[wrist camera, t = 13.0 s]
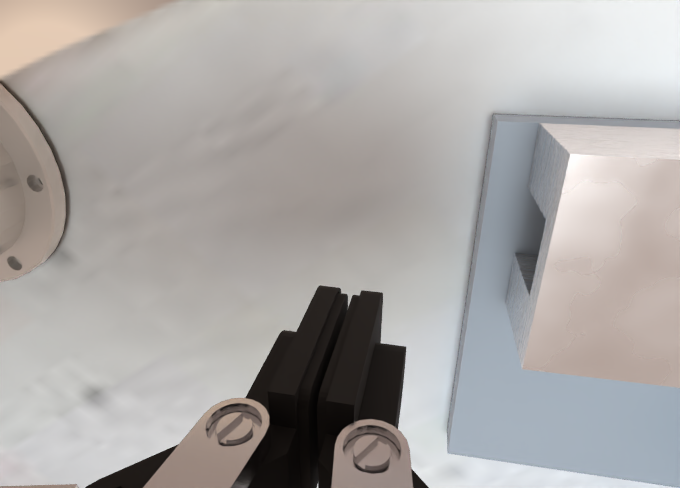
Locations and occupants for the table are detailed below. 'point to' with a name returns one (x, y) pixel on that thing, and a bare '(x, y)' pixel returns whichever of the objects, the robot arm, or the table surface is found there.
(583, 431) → the assembly board
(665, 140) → the housing cover
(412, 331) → the table surface
